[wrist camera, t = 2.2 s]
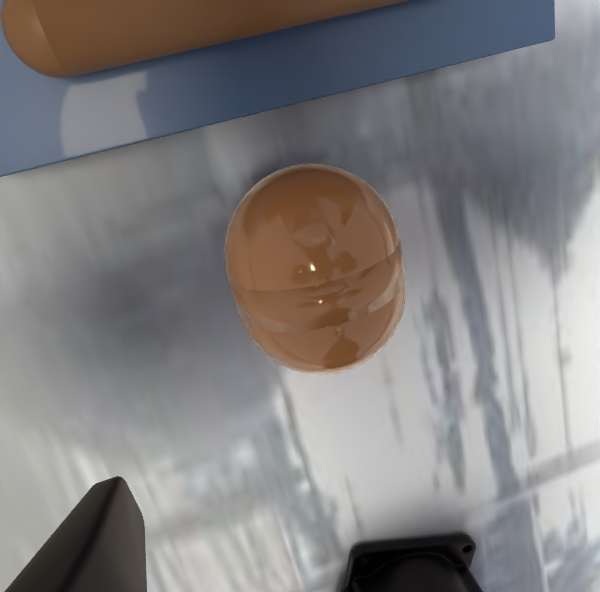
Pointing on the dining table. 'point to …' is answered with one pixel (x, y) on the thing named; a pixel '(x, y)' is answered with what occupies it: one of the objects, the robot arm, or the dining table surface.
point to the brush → (218, 61)
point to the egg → (316, 268)
